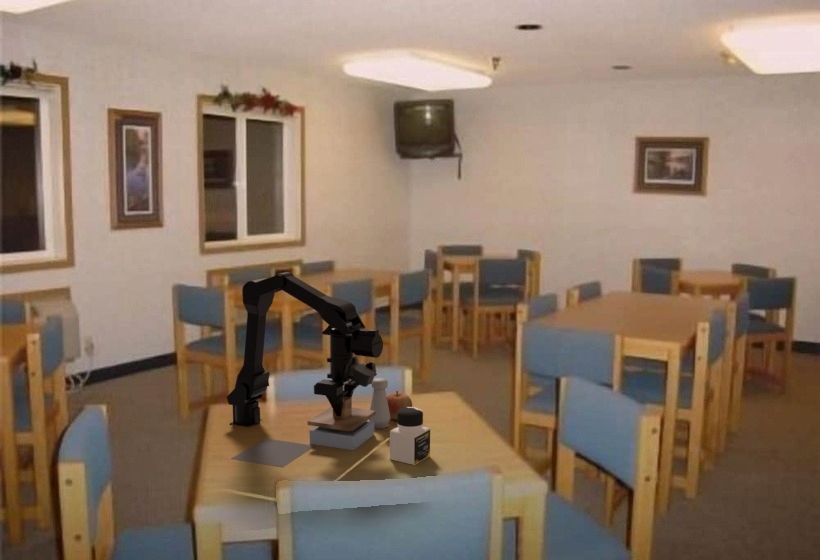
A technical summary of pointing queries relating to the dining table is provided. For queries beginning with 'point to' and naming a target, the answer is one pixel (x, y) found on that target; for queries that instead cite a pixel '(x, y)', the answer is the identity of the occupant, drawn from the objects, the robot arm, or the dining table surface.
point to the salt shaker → (380, 404)
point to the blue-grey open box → (342, 436)
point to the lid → (342, 417)
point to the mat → (273, 452)
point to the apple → (397, 403)
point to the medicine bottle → (410, 437)
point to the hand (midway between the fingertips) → (342, 413)
